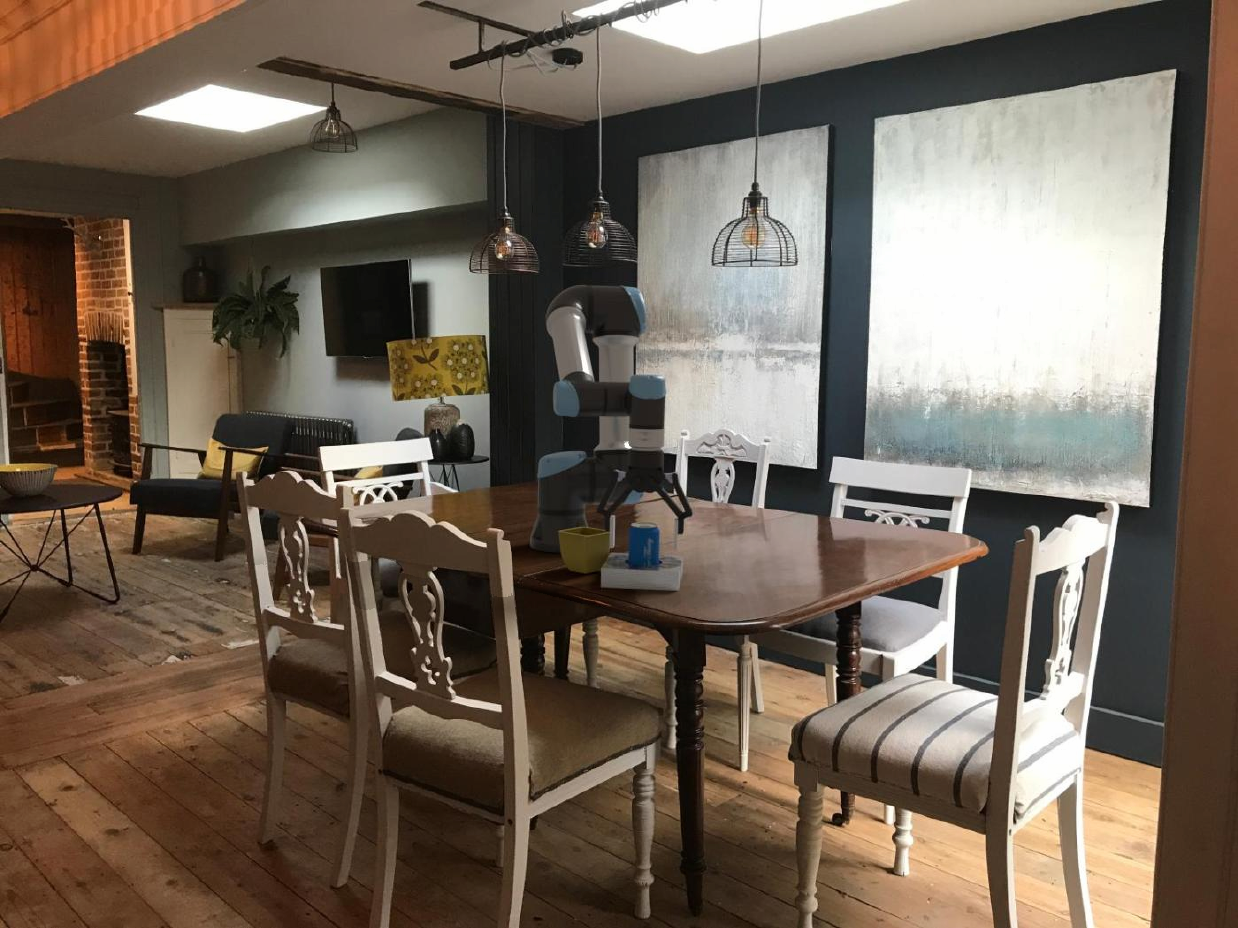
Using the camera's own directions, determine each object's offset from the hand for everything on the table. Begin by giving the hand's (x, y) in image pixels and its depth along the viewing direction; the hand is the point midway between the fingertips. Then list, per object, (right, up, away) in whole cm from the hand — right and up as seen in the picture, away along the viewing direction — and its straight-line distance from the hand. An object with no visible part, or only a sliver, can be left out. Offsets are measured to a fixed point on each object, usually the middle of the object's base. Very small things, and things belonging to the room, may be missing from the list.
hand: (643, 548), depth 212 cm
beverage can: (0, -7, +1) cm, 7 cm away
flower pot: (-13, -6, +9) cm, 16 cm away
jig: (0, -7, +1) cm, 7 cm away
